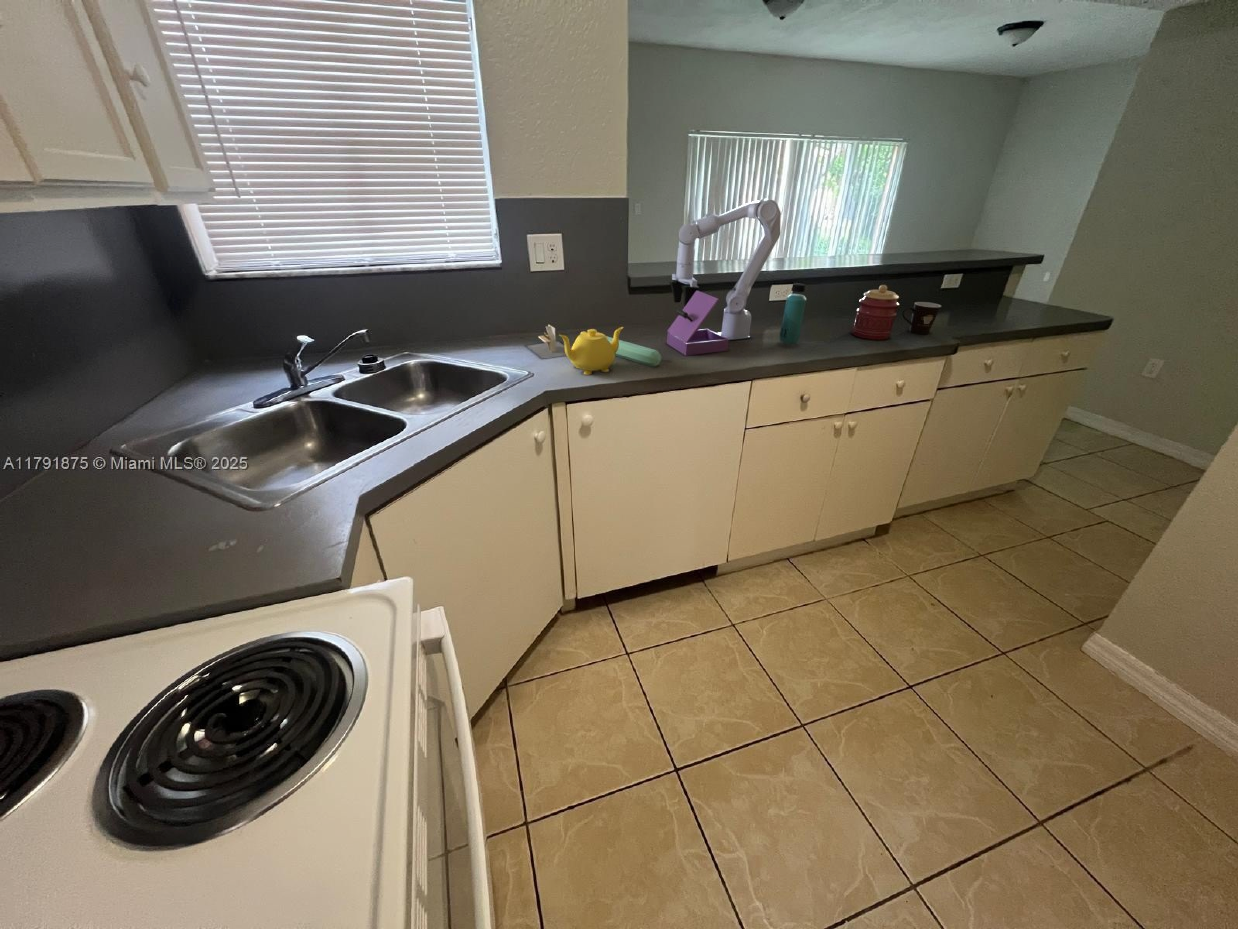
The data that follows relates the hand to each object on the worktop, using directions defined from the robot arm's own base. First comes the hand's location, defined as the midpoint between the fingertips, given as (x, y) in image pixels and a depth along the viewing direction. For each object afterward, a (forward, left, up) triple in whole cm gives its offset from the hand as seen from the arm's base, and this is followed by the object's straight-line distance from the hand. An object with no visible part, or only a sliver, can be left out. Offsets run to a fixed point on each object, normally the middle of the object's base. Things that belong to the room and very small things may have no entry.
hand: (682, 304), depth 171 cm
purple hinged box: (+5, +16, 0) cm, 17 cm away
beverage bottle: (-29, +24, -11) cm, 39 cm away
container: (+29, +19, -11) cm, 36 cm away
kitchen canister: (-66, +24, -11) cm, 71 cm away
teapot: (+42, +24, -11) cm, 50 cm away
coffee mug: (-87, +25, -11) cm, 91 cm away
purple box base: (+2, +16, -10) cm, 19 cm away
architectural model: (+49, +3, -11) cm, 50 cm away
